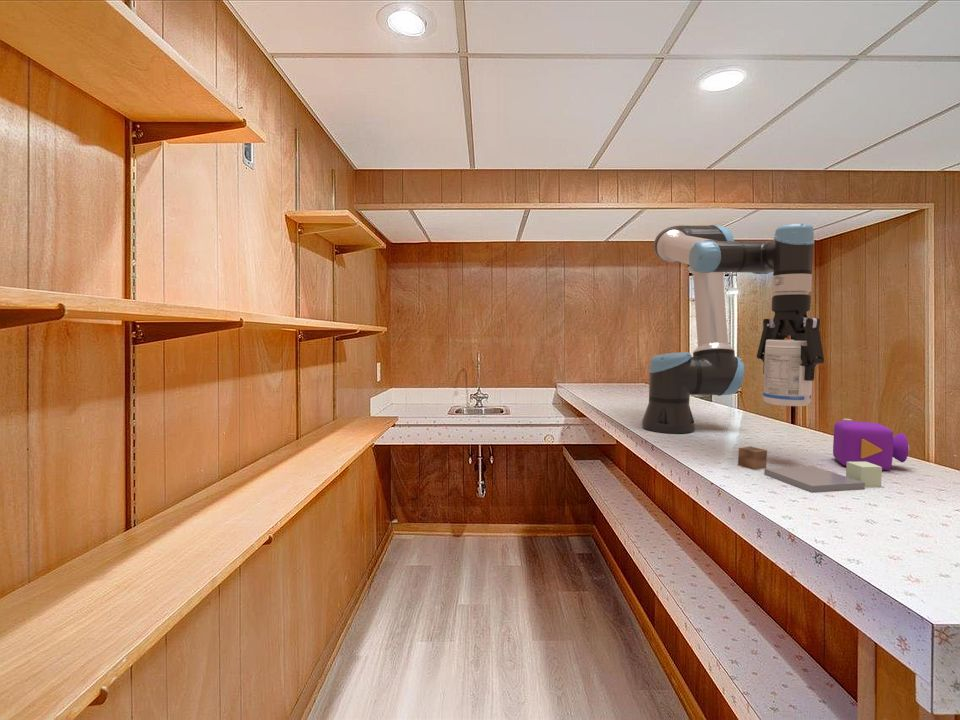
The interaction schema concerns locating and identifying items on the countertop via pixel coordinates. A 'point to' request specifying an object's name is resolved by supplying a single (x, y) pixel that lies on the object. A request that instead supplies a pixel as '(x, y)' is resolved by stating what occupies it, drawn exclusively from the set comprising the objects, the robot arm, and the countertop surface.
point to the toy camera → (868, 443)
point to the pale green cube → (865, 473)
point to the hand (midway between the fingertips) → (786, 392)
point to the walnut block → (752, 457)
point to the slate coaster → (814, 479)
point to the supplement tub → (783, 373)
